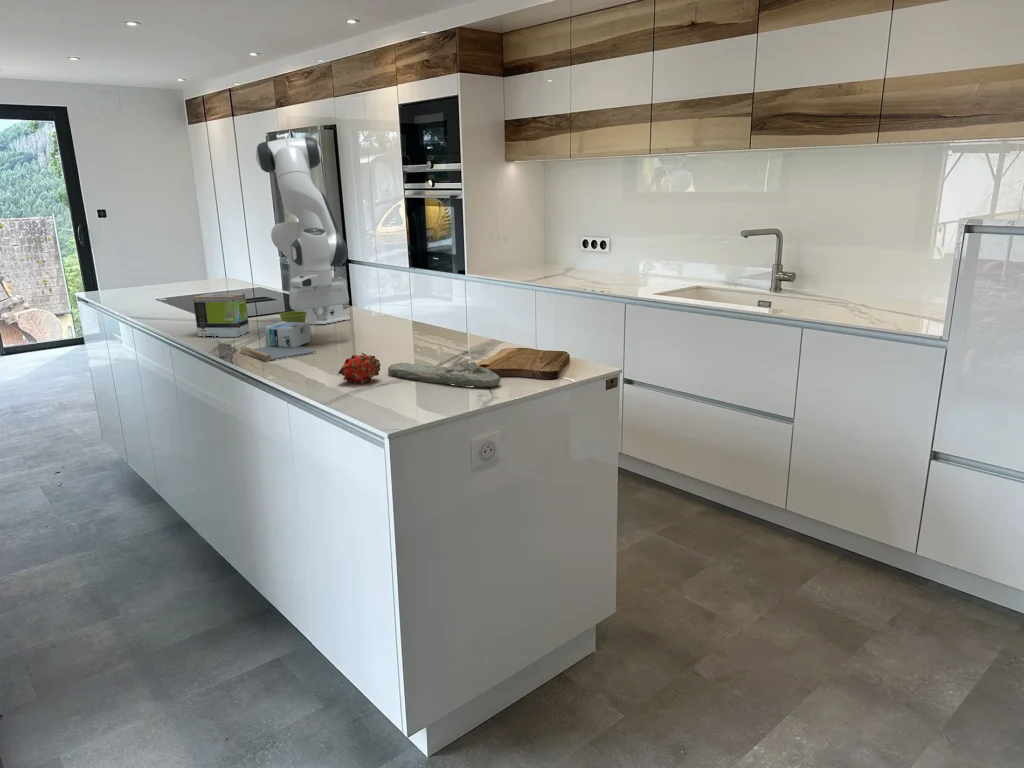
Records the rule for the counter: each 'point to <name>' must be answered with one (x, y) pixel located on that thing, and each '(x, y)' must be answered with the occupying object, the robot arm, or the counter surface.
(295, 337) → the light bulb box
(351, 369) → the dragon fruit
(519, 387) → the counter surface
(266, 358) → the strip
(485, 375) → the elongated rock
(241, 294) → the tea box
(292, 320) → the plant pot
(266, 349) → the mat
